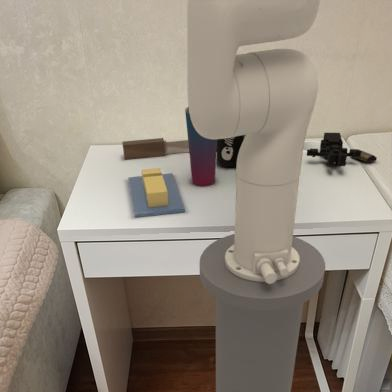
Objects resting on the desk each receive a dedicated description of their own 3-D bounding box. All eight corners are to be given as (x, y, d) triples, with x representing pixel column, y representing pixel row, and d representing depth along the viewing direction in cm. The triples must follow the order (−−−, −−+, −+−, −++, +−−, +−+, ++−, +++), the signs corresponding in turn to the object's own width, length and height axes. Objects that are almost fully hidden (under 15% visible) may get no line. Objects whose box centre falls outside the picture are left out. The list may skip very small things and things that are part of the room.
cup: (223, 177, 111) (224, 105, 101) (211, 189, 106) (210, 115, 96) (196, 173, 113) (193, 102, 103) (182, 185, 109) (179, 112, 99)
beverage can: (213, 167, 116) (212, 112, 108) (221, 157, 120) (221, 103, 112) (240, 170, 114) (242, 114, 106) (247, 159, 119) (249, 105, 111)
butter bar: (168, 205, 100) (167, 191, 98) (148, 207, 99) (147, 193, 97) (163, 189, 106) (162, 175, 104) (144, 190, 105) (143, 177, 103)
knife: (123, 155, 123) (122, 141, 120) (199, 148, 125) (199, 134, 122) (124, 159, 121) (122, 144, 118) (201, 152, 123) (201, 137, 120)
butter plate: (184, 212, 99) (184, 208, 99) (134, 217, 98) (134, 213, 98) (172, 176, 112) (172, 172, 112) (128, 180, 111) (127, 177, 111)
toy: (310, 154, 108) (306, 128, 118) (307, 176, 111) (304, 148, 122) (367, 155, 106) (358, 129, 117) (362, 177, 110) (354, 149, 120)
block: (366, 165, 114) (367, 157, 113) (347, 157, 118) (349, 149, 117) (377, 161, 115) (379, 153, 114) (359, 153, 119) (360, 146, 118)
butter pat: (162, 186, 107) (161, 172, 105) (144, 188, 106) (142, 174, 104) (161, 181, 109) (160, 167, 107) (143, 183, 108) (141, 169, 106)
